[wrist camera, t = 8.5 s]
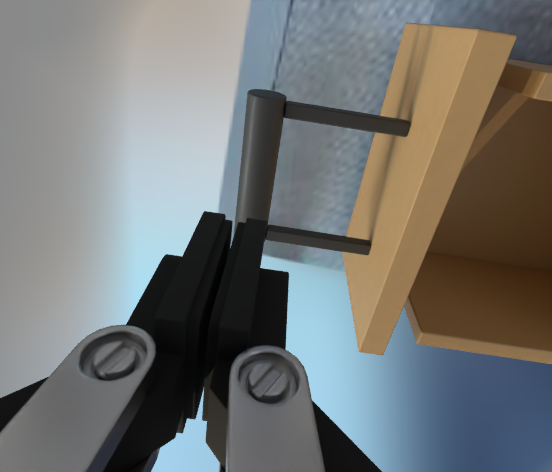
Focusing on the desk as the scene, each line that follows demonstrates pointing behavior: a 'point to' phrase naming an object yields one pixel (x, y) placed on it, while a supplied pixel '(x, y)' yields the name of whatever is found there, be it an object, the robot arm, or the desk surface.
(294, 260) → the desk surface
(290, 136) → the desk surface
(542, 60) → the desk surface
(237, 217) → the drawer
